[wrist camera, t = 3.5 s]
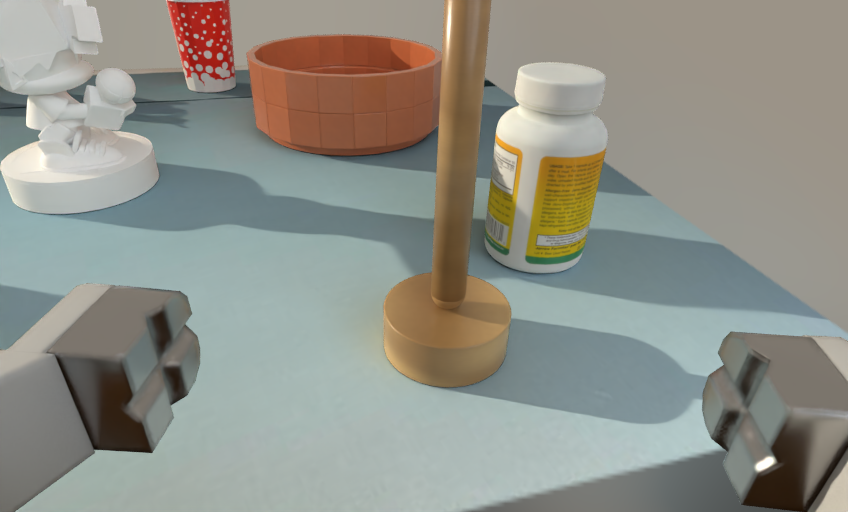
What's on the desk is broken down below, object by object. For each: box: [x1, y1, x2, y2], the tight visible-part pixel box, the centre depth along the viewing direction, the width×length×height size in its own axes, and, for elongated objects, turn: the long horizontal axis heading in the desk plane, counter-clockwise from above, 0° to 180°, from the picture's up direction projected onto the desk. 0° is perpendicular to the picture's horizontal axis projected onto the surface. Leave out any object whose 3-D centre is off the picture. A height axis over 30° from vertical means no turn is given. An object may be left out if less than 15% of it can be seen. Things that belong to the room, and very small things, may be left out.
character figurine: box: [0, 0, 159, 214], centre depth 33 cm, size 9×10×12 cm
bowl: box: [247, 34, 442, 156], centre depth 46 cm, size 15×15×6 cm
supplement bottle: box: [484, 62, 608, 273], centre depth 28 cm, size 5×5×10 cm
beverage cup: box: [166, 0, 236, 92], centre depth 53 cm, size 6×6×14 cm
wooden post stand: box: [384, 0, 511, 387], centre depth 19 cm, size 5×5×18 cm
